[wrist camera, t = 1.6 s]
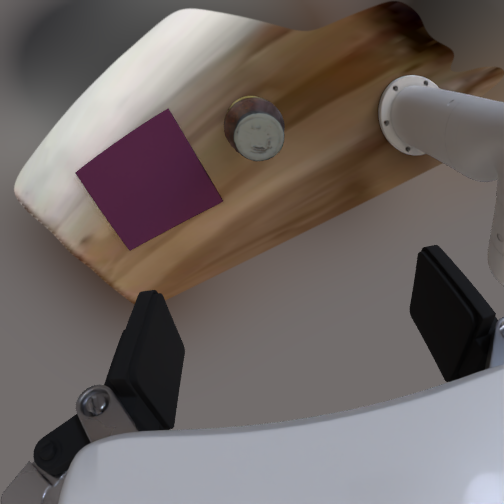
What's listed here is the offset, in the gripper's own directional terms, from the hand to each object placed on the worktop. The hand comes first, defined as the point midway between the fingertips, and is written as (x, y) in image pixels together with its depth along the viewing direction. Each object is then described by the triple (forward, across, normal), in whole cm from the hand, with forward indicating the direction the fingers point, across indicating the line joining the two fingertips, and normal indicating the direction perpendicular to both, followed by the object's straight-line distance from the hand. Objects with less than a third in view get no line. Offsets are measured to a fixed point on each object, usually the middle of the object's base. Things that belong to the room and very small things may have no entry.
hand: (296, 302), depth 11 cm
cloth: (+36, +17, +5) cm, 41 cm away
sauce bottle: (+37, 0, -2) cm, 37 cm away
